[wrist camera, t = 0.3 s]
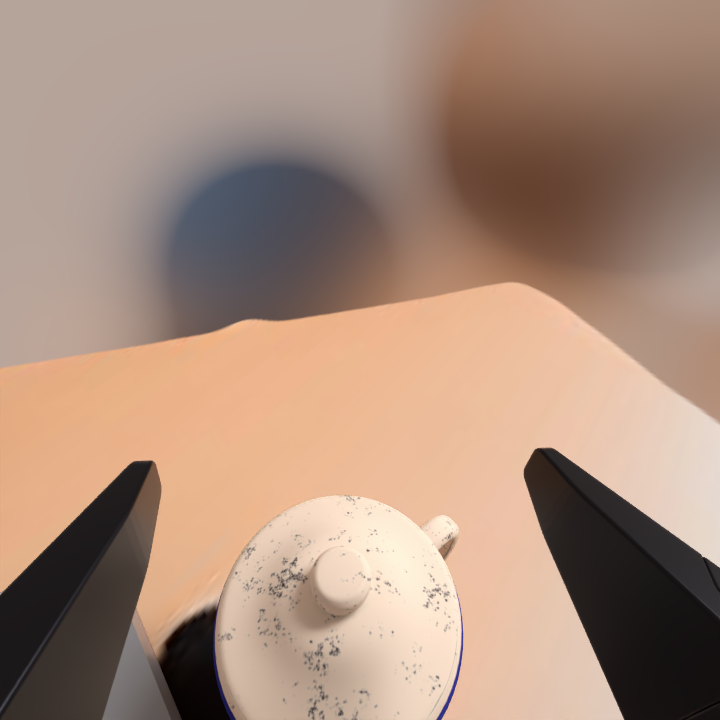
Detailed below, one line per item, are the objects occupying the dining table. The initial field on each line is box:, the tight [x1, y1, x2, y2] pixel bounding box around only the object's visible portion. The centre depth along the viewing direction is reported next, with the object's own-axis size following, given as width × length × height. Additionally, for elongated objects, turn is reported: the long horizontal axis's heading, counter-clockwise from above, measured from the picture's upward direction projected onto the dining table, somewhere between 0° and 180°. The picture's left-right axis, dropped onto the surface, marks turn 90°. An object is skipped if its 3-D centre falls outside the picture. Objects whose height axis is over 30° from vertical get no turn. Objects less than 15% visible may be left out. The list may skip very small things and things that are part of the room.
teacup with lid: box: [213, 495, 463, 720], centre depth 17 cm, size 12×9×12 cm
